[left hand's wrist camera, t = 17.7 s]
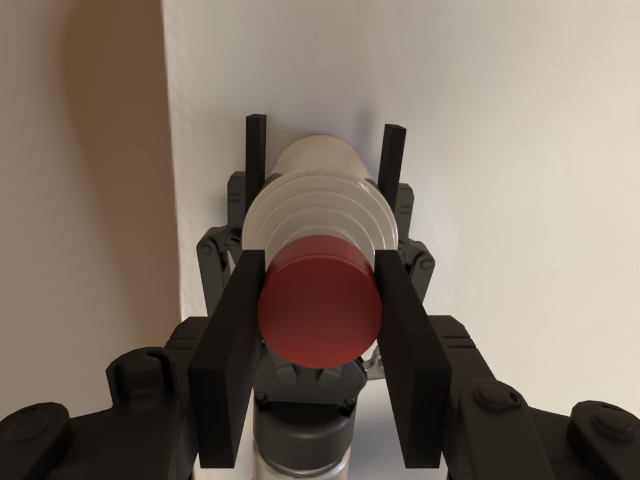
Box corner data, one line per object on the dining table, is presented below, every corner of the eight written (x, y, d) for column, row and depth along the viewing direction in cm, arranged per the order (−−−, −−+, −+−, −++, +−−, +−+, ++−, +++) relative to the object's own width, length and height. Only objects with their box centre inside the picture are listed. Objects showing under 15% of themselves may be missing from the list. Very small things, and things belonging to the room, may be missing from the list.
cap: (393, 304, 15) (404, 337, 13) (299, 348, 16) (296, 386, 14) (343, 213, 14) (346, 235, 12) (243, 265, 14) (231, 294, 12)
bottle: (275, 228, 32) (220, 397, 14) (270, 135, 29) (196, 203, 12) (366, 227, 32) (422, 395, 14) (368, 133, 29) (439, 200, 12)
